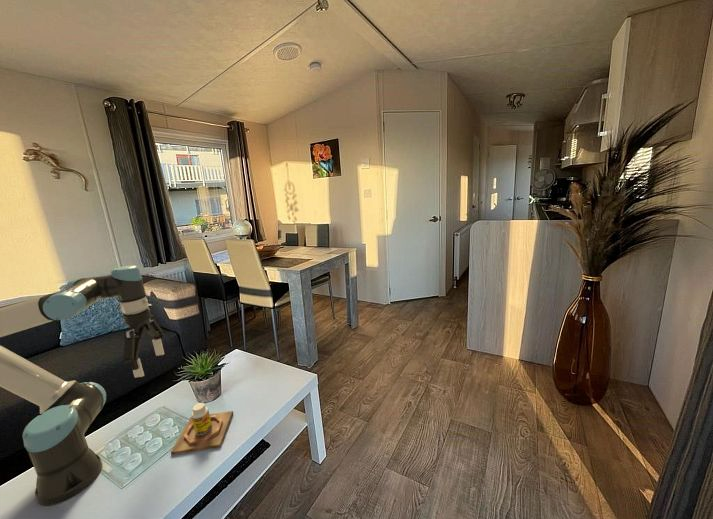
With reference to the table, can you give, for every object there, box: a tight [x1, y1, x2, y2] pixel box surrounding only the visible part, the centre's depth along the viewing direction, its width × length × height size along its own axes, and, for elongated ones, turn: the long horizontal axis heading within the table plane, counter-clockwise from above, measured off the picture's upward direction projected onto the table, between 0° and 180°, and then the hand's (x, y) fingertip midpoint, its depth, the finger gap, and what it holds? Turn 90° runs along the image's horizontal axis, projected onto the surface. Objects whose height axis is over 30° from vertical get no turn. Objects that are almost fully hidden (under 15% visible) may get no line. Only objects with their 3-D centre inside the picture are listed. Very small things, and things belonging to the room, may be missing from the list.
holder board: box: [170, 410, 234, 456], centre depth 108 cm, size 16×16×2 cm
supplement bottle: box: [190, 402, 212, 435], centre depth 107 cm, size 6×6×10 cm
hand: (150, 365), depth 106 cm, fingers open, 13 cm apart
